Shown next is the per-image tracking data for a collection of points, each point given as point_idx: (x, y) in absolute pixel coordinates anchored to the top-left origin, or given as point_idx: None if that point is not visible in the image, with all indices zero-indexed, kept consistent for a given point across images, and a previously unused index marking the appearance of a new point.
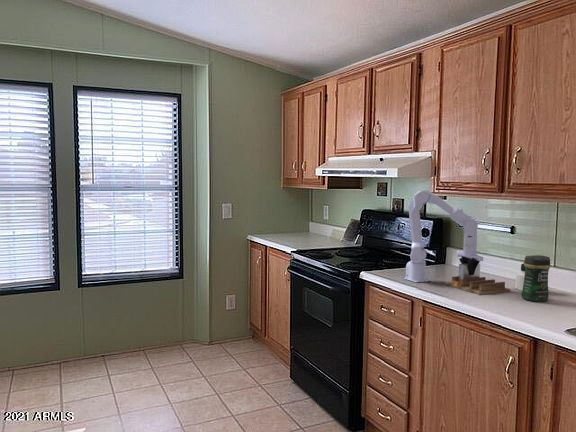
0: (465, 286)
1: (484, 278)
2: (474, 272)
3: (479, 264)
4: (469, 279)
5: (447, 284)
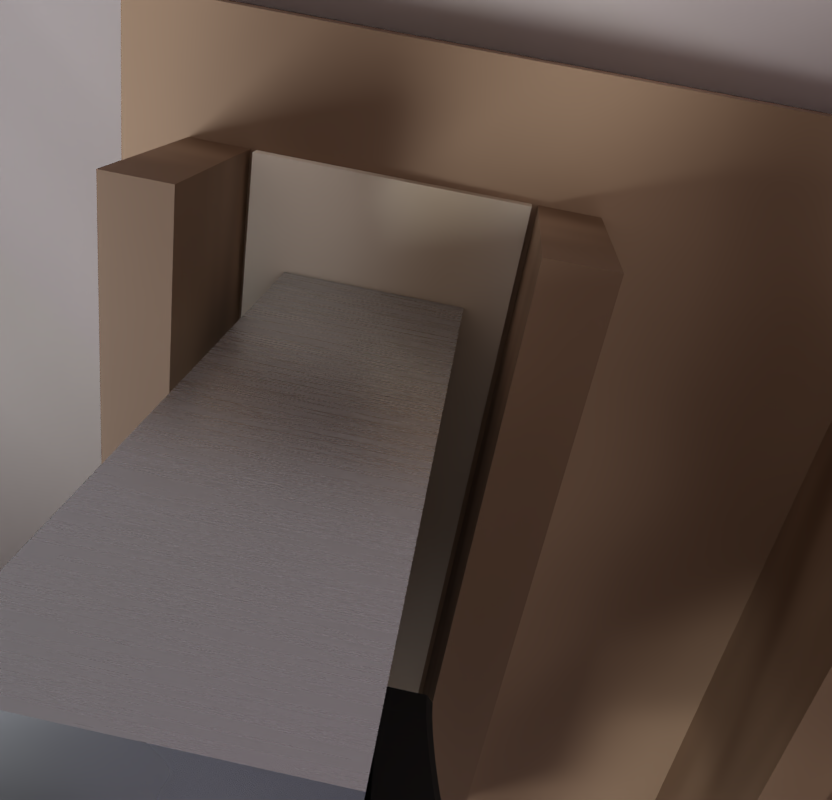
0: (497, 787)
1: (604, 309)
2: (434, 759)
3: (363, 794)
4: (467, 782)
5: None
